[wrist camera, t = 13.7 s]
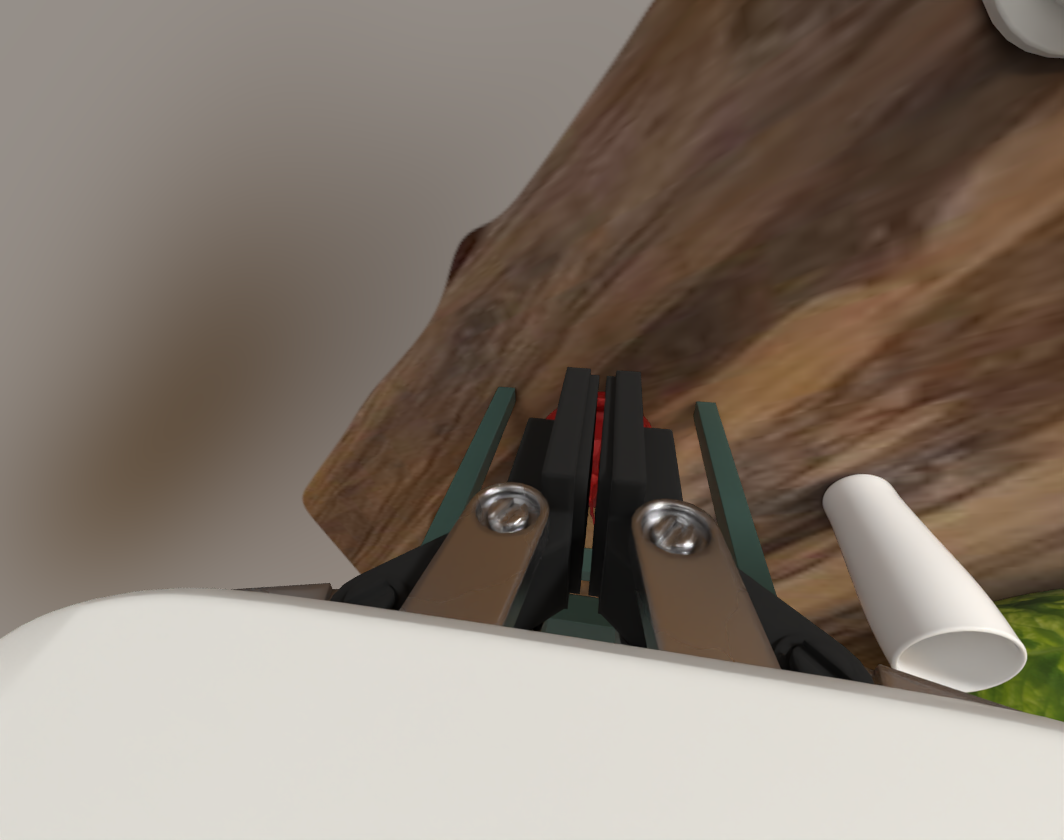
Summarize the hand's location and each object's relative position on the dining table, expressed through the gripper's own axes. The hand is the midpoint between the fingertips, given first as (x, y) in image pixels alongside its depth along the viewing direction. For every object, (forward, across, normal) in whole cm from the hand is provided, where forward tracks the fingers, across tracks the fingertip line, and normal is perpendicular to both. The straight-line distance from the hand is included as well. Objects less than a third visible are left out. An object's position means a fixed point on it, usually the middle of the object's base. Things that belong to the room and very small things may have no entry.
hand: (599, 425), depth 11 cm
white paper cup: (+25, -22, +21) cm, 40 cm away
